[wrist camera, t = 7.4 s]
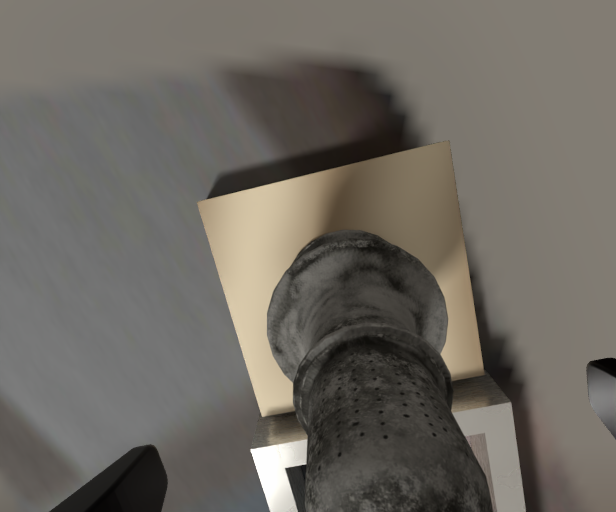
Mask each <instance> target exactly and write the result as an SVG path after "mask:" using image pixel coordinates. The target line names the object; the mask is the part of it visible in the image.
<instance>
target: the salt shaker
mask: <svg viewBox="0 0 616 512" xmlns="http://www.w3.org/2000/svg"><path fill="white" fill-rule="evenodd" d="M447 327H448V314H447V308H446V302H445V297H444V295H443V293H442V291H441V289H440V287H439V285H438V283H437V281H436V279H435V277H434V276H433V275H432V273H431V272H430V271H429V270H428V269H427V268H426V267H425V266H424V265H423V264H422V262H421V261H420V260H419V259H418V258H416V257H415V256H413V255H411V254H410V253H408V252H406V251H405V250H403V249H402V248H400V247H398V246H396V245H393V244H391V243H389V242H387V241H386V240H384V239H382V238H381V237H379V236H378V235H375V234H372V233H368V232H365V231H362V230H339V231H335V232H331V233H326V234H324V235H322V236H321V237H319V238H317V239H315V240H313V241H311V242H310V243H309V244H308V245H307V246H306V247H305V248H304V249H302V250H301V251H300V252H299V253H298V255H297V257H296V258H295V260H294V261H293V263H292V265H291V266H290V267H289V268H288V269H287V270H286V271H285V273H284V274H283V276H282V278H281V279H280V281H279V282H278V284H277V286H276V287H275V289H274V291H273V294H272V297H271V301H270V304H269V308H268V311H267V337H268V341H269V344H270V348H271V351H272V355H273V357H274V359H275V360H276V362H277V364H278V365H279V367H280V369H281V370H282V372H283V374H284V375H285V376H286V377H287V378H288V379H289V380H290V381H291V382H293V405H294V409H295V412H296V416H297V419H298V421H299V423H300V425H301V426H302V428H303V429H304V431H305V432H306V434H307V436H308V437H307V459H306V481H305V508H306V512H493V508H492V502H491V497H490V491H489V487H488V483H487V479H486V475H485V473H484V471H483V470H482V468H481V466H480V464H479V462H478V460H477V458H476V457H475V455H474V453H473V451H472V449H471V447H470V445H469V444H468V442H467V440H466V438H465V436H464V434H463V432H462V430H461V429H460V427H459V425H458V423H457V421H456V419H455V417H454V416H453V414H452V412H451V410H452V402H453V393H454V390H453V385H452V379H451V374H450V371H449V370H448V368H447V366H446V364H445V362H444V360H443V358H442V356H441V352H442V350H443V347H444V345H445V342H446V336H447Z"/></svg>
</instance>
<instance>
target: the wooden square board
mask: <svg viewBox="0 0 616 512" xmlns="http://www.w3.org/2000/svg"><path fill="white" fill-rule="evenodd" d="M197 204H198V207H199V211H200V214H201V217H202V221H203V224H204V227H205V230H206V234H207V237H208V240H209V244H210V247H211V250H212V253H213V257H214V260H215V263H216V267H217V270H218V273H219V277H220V280H221V283H222V286H223V290H224V293H225V296H226V300H227V303H228V306H229V309H230V313H231V316H232V319H233V323H234V326H235V329H236V332H237V336H238V339H239V342H240V346H241V349H242V352H243V356H244V359H245V362H246V365H247V369H248V372H249V375H250V379H251V382H252V385H253V388H254V392H255V395H256V398H257V402H258V405H259V408H260V412H261V415H262V417H265V416H270V415H276V414H281V413H286V412H291V411H295V409H294V405H293V382H291V381H290V380H289V379H288V378H287V377H286V376H285V375H284V374H283V372H282V370H281V369H280V367H279V365H278V364H277V362H276V360H275V359H274V357H273V355H272V351H271V348H270V344H269V341H268V337H267V311H268V308H269V304H270V301H271V297H272V294H273V291H274V289H275V287H276V286H277V284H278V282H279V281H280V279H281V278H282V276H283V274H284V273H285V271H286V270H287V269H288V268H289V267H290V266H291V265H292V263H293V261H294V260H295V258H296V257H297V255H298V253H299V252H300V251H301V250H302V249H304V248H305V247H306V246H307V245H308V244H309V243H310V242H311V241H313V240H315V239H317V238H319V237H321V236H322V235H324V234H326V233H331V232H335V231H339V230H362V231H365V232H368V233H372V234H375V235H378V236H379V237H381V238H382V239H384V240H386V241H387V242H389V243H391V244H393V245H396V246H398V247H400V248H402V249H403V250H405V251H406V252H408V253H410V254H411V255H413V256H415V257H416V258H418V259H419V260H420V261H421V262H422V264H423V265H424V266H425V267H426V268H427V269H428V270H429V271H430V272H431V273H432V275H433V276H434V277H435V279H436V281H437V283H438V285H439V287H440V289H441V291H442V293H443V295H444V297H445V302H446V308H447V314H448V327H447V336H446V342H445V345H444V347H443V350H442V352H441V356H442V358H443V360H444V362H445V364H446V366H447V368H448V370H449V371H450V374H451V379H452V381H455V380H460V379H466V378H471V377H476V376H482V375H485V374H484V368H483V361H482V354H481V348H480V341H479V335H478V328H477V321H476V315H475V308H474V301H473V295H472V288H471V281H470V275H469V268H468V262H467V255H466V248H465V242H464V235H463V228H462V222H461V215H460V208H459V202H458V195H457V189H456V182H455V175H454V169H453V162H452V155H451V149H450V142H449V141H443V142H438V143H434V144H430V145H426V146H422V147H418V148H414V149H410V150H406V151H402V152H398V153H393V154H389V155H385V156H381V157H377V158H373V159H369V160H365V161H361V162H357V163H353V164H349V165H344V166H340V167H336V168H332V169H328V170H324V171H320V172H316V173H312V174H308V175H304V176H300V177H295V178H291V179H287V180H283V181H279V182H275V183H271V184H267V185H263V186H259V187H255V188H251V189H247V190H242V191H238V192H234V193H230V194H226V195H222V196H218V197H214V198H210V199H206V200H202V201H199V202H197Z"/></svg>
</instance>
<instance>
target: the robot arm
mask: <svg viewBox="0 0 616 512" xmlns="http://www.w3.org/2000/svg"><path fill="white" fill-rule="evenodd" d="M586 371H587V381H588V382H587V383H588V395H589V401H590V404H591V406H592V408H593V410H594V411H595V413H596V414H597V416H598V417H599V418H600V419H601V421H602V422H603V423H604V424H605V426H606V427H607V428H608V430H609V431H610V432H611V434H612V435H613V436H614V438H615V439H616V359H615V358H604V359H599V360H594V361H590V362H589V363H588V364H587V370H586ZM167 484H168V479H167V474H166V471H165V469H164V466H163V463H162V461H161V458H160V456H159V453H158V450H157V448H156V447H155V446H154V445H151V444H150V445H144V446H139V447H135V448H133V449H131V450H130V451H129V452H127V453H126V454H125V455H123V456H122V457H121V458H119V459H118V460H117V461H115V462H114V463H113V464H111V465H110V466H109V467H108V468H106V469H105V470H104V471H102V472H101V473H100V474H98V475H97V476H96V477H94V478H93V479H92V480H90V481H89V482H88V483H86V484H85V485H84V486H82V487H81V488H80V489H79V490H77V491H76V492H75V493H73V494H72V495H71V496H69V497H68V498H67V499H65V500H64V501H63V502H61V503H60V504H59V505H57V506H56V507H55V508H53V509H52V510H51V511H49V512H161V510H162V506H163V502H164V498H165V494H166V490H167Z"/></svg>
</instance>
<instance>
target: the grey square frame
mask: <svg viewBox="0 0 616 512" xmlns="http://www.w3.org/2000/svg"><path fill="white" fill-rule="evenodd" d="M484 374H485V375H482V376H476V377H471V378H466V379H460V380H455V381H452V385H453V390H454V393H453V402H452V410H451V412H452V414H453V416H454V417H455V419H456V421H457V423H458V425H459V427H460V429H461V430H462V432H463V434H464V436H470V442H471V448H472V451H473V453H474V455H475V457H476V458H477V460H478V462H479V464H480V466H481V468H482V470H483V471H484V473H485V475H486V479H487V483H488V487H489V491H490V497H491V502H492V508H493V512H526V508H525V500H524V493H523V486H522V478H521V471H520V464H519V456H518V449H517V441H516V434H515V427H514V419H513V412H512V405H511V401H510V400H509V399H508V398H507V396H506V395H505V394H504V393H503V391H502V390H501V389H500V388H499V386H498V385H497V384H496V383H495V381H494V380H493V379H492V377H491V376H490V375H489V374H488V372H487V371H486V370H484ZM307 437H308V436H307V434H306V432H305V431H304V429H303V428H302V426H301V425H300V423H299V421H298V419H297V416H296V412H295V411H291V412H286V413H281V414H276V415H270V416H265V417H262V415H261V412H260V415H259V419H258V423H257V427H256V431H255V435H254V439H253V443H252V447H251V452H252V455H253V458H254V461H255V465H256V468H257V471H258V474H259V477H260V480H261V483H262V487H263V490H264V493H265V496H266V499H267V502H268V505H269V509H270V512H306V508H305V481H304V477H303V474H302V470H301V467H300V465H305V464H306V459H307Z"/></svg>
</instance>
